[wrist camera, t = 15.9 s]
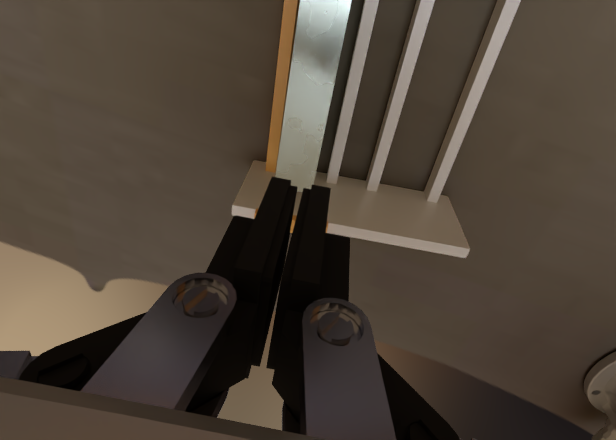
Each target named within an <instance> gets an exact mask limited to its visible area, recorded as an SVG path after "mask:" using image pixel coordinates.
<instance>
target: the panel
mask: <svg viewBox="0 0 616 440" xmlns="http://www.w3.org/2000/svg"><path fill="white" fill-rule="evenodd" d="M351 1H352V0H300V4H299V11H298V18H297V26H296V33H295V40H294V47H293V54H292V61H291V68H290V75H289V82H288V89H287V96H286V104H285V111H284V118H283V125H282V132H281V139H280V146H279V153H278V160H277V167H276V175H275V177H277V178H283V179H288V180H291V185H292V186H297V187H298V188H297V191H299V192H303V188H307V189H311V187H312V184H313V185H314V180H315V175H316V170H317V165H318V161H319V156H320V151H321V146H322V141H323V136H324V132H325V127H326V122H327V117H328V112H329V107H330V103H331V98H332V93H333V88H334V83H335V78H336V74H337V69H338V64H339V59H340V54H341V49H342V45H343V40H344V35H345V30H346V25H347V21H348V16H349V11H350V6H351Z"/></svg>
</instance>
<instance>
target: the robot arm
mask: <svg viewBox="0 0 616 440" xmlns="http://www.w3.org/2000/svg"><path fill="white" fill-rule="evenodd" d="M297 188H298V187H297V186H292V185H291V180H288V179H283V178H277V177H271V180H270V182H269V185H268V187H267V189H266V192H265V194H264V197H263V199H262V202H261V204H260V206H259V209H258V211H257V214H256V216H255V218H254V219H252V218H247V217H242V216H237V215H236V216H234V217H233V219H232V221H231V223H230V225H229V227H228V229H227V231H226V233H225V235H224V237H223V239H222V241H221V243H220V245H219V247H218V249H217V251H216V253H215V255H214V257H213V259H212V261H211V263H210V265H209V267H208V269H207V271H206V273H194V274H190V275H186V276H184V277H181V278H179V279H177V280H176V281H175V282H174V283H172V284H171V285H170V286H169V287H168V288H167V289H166V291H165V292H164V293H163V294H162V295H161V297H160V298H159V299H158V300H157V301H156V302H155V304H154V305H153V306H152V307H151V308H150V309H149V311H148V312H146V313H143V314H140V315H138V316H135V317H133V318H130V319H127V320H125V321H122V322H119V323H117V324H114V325H111V326H109V327H106V328H104V329H101V330H98V331H96V332H93V333H90V334H88V335H85V336H83V337H80V338H77V339H75V340H72V341H69V342H67V343H64V344H61V345H59V346H56V347H54V348H52V349H50V350H48V351H46V352H44V353H42V354H41V355H40V356H31V353H30V351H0V440H462V439H460V438H459V437H458V435H457V434H456V432H455V431H454V430H453V429H452V428H451V426H450V425H449V424H448V423H447V422H446V421H445V420H444V419H443V418H442V417H441V416H440V415H439V414H438V413H437V412H436V411H435V410H434V409H433V408H432V407H431V406H430V405H429V404H428V403H427V402H426V401H425V400H424V399H423V398H422V397H421V396H420V395H419V394H418V393H417V392H416V391H415V390H414V389H413V388H412V387H411V386H410V385H409V384H408V383H407V382H406V381H405V380H404V379H403V378H402V377H401V376H400V375H399V374H398V373H397V372H396V371H395V370H394V369H393V368H392V367H391V366H390V365H389V364H388V363H387V362H386V361H385V360H384V359H383V358H382V357H381V356H380V355H379V354H378V353H377V351H376V346H375V342H374V337H373V333H372V328H371V325H370V322H369V320H368V318H367V316H366V315H365V314H364V313H363V311H362V310H361V309H359V308H358V307H357V306H355V305H354V304H352V303H350V302H348V296H349V257H350V238H349V237H344V236H339V235H334V234H328V233H326V225H327V216H328V208H329V200H330V191H331V188H328V187H323V186H318V185H313V184H312V187H311V189H307V188H303V192H302V196H301V200H300V204H299V208H298V212H297V216H296V221H295V225H294V229H293V233H292V237H291V241H290V245H289V249H288V253H287V247H288V241H289V235H290V229H291V224H292V218H293V212H294V206H295V200H296V194H297ZM286 253H287V257H286ZM285 259H286V261H285ZM284 264H285V265H284ZM283 269H284V270H283ZM282 273H283V274H282ZM281 277H282V279H281ZM280 282H281V284H280ZM279 286H280V290H279ZM278 290H279V296H278V302H277V308H276V314H275V320H274V326H273V332H272V337H271V343H270V350H269V355H268V362H267V368H270V369H275V371H274V376H273V381H272V385H273V386H274V388H275V389H276V390H277V392H278V393H279V394H280V396H281V397H282V399H283V400H284V402H283V408H282V431H281V430H276V429H271V428H265V427H261V426H256V425H251V424H245V423H240V422H235V421H230V420H225V419H220V418H217V416H218V414H219V412H220V410H221V408H222V406H223V404H224V402H225V400H226V398H227V394H228V391H229V387H231V386H233V385H235V384H236V383H238V382H240V381H242V380H243V379H245V378H248V376H249V373H250V369H251V365H254V366H260V363H261V359H262V355H263V351H264V347H265V343H266V339H267V334H268V331H269V326H270V322H271V318H272V314H273V310H274V306H275V302H276V298H277V294H278ZM584 391H585V394H586V396H587V397H588V399H589V401H590V403H591V404H592V405H593V406H594V407H595V408H596V409H598V410H600V411H602V412H604V413H606V415H607V416H608V419H607V420H606V423H605V424H606V427H604V428H602V429H601V430H600V431H599V432H597V433H596V434H595V435H594V436H593V437H592V440H616V352H613V353H611V354H609V355H608V356H606V357H605V358H603V359H602V360H600V361H599V362H598V363H597V364H596V365H594V366H593V367H592V369H591V370H590V371H589V373H588V374H587V376H586V378H585V380H584ZM470 440H476V439H474V438H471V439H470Z"/></svg>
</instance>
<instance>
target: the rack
mask: <svg viewBox="0 0 616 440" xmlns="http://www.w3.org/2000/svg"><path fill="white" fill-rule="evenodd" d="M520 1H521V0H497V2H496V5H495V8H494V10H493V13H492V15H491V18H490V21H489V23H488V26H487V28H486V31H485V34H484V36H483V39H482V41H481V44H480V47H479V49H478V52H477V55H476V57H475V60H474V62H473V65H472V68H471V70H470V73H469V75H468V78H467V81H466V83H465V86H464V88H463V91H462V94H461V96H460V99H459V101H458V104H457V107H456V109H455V112H454V114H453V117H452V120H451V122H450V125H449V127H448V130H447V133H446V135H445V138H444V140H443V143H442V146H441V148H440V151H439V153H438V156H437V159H436V161H435V164H434V166H433V169H432V172H431V174H430V177H429V179H428V182H427V185H426V187H425V190H424V192H423V191H418V190H412V189H407V188H402V187H396V186H391V185H386V184H380V183H379V182H380V179H381V176H382V173H383V169H384V166H385V163H386V159H387V156H388V153H389V150H390V146H391V143H392V140H393V136H394V133H395V130H396V127H397V123H398V120H399V117H400V113H401V110H402V107H403V104H404V100H405V97H406V94H407V90H408V87H409V84H410V81H411V77H412V74H413V71H414V67H415V64H416V61H417V58H418V54H419V51H420V48H421V44H422V41H423V38H424V35H425V31H426V28H427V25H428V21H429V18H430V15H431V12H432V8H433V5H434V2H435V0H417V1H416V4H415V8H414V11H413V15H412V18H411V22H410V25H409V29H408V33H407V36H406V40H405V43H404V47H403V50H402V54H401V58H400V61H399V65H398V68H397V72H396V75H395V79H394V82H393V86H392V90H391V93H390V97H389V100H388V104H387V107H386V111H385V114H384V118H383V122H382V125H381V129H380V132H379V136H378V139H377V143H376V147H375V150H374V154H373V157H372V161H371V164H370V168H369V171H368V175H367V179H366V181H364V180H359V179H354V178H348V177H343V176H338V175H339V170H340V166H341V162H342V158H343V153H344V149H345V145H346V140H347V136H348V132H349V128H350V123H351V119H352V115H353V110H354V106H355V102H356V97H357V93H358V89H359V85H360V80H361V76H362V72H363V67H364V63H365V59H366V55H367V50H368V46H369V42H370V37H371V33H372V29H373V25H374V20H375V16H376V12H377V7H378V3H379V0H364V3H363V8H362V12H361V17H360V22H359V27H358V31H357V36H356V41H355V45H354V50H353V55H352V59H351V64H350V69H349V73H348V78H347V83H346V87H345V92H344V97H343V101H342V106H341V111H340V115H339V120H338V125H337V129H336V134H335V139H334V143H333V148H332V153H331V158H330V162H329V167H328V172H327V173H322V172H316V175H315V180H314V185H318V186H323V187H328V188H331V191H330V200H329V208H328V216H327V225H326V233H332V234H337V235H342V236H348V237H353V238H359V239H364V240H369V241H375V242H380V243H386V244H391V245H397V246H402V247H407V248H413V249H418V250H424V251H429V252H435V253H440V254H445V255H451V256H456V257H462V258H466V256H467V255H468V253H469V251H470V247H469V245H468V242H467V240H466V238H465V235H464V233H463V231H462V228H461V226H460V224H459V221H458V219H457V217H456V214H455V212H454V209H453V207H452V205H451V202H450V200H449V198H448V196H444V195H440V194H441V192H442V190H443V187H444V185H445V182H446V180H447V177H448V175H449V173H450V170H451V168H452V165H453V163H454V161H455V158H456V156H457V153H458V151H459V148H460V146H461V144H462V141H463V139H464V136H465V134H466V132H467V129H468V127H469V124H470V122H471V120H472V117H473V115H474V112H475V110H476V107H477V105H478V103H479V100H480V98H481V95H482V93H483V91H484V88H485V86H486V83H487V81H488V79H489V76H490V74H491V71H492V69H493V66H494V64H495V62H496V59H497V57H498V54H499V52H500V50H501V47H502V45H503V42H504V40H505V38H506V35H507V33H508V30H509V28H510V25H511V23H512V21H513V18H514V16H515V13H516V11H517V9H518V6H519V4H520ZM299 4H300V0H284V8H283V17H282V26H281V35H280V44H279V53H278V62H277V71H276V79H275V88H274V97H273V106H272V115H271V124H270V133H269V142H268V151H267V160H266V162H263V161H258V160H254V161H253V163H252V165H251V167H250V169H249V171H248V173H247V175H246V177H245V180H244V182H243V184H242V186H241V188H240V190H239V192H238V194H237V196H236V198H235V200H234V203H233V205H232V215H234V216H236V215H237V216H242V217H247V218H252V219H254V218H255V216H256V214H257V211H258V209H259V206H260V204H261V202H262V199H263V197H264V194H265V192H266V189H267V187H268V185H269V182H270V180H271V177H275V175H276V167H277V160H278V153H279V146H280V139H281V132H282V125H283V118H284V111H285V104H286V96H287V89H288V82H289V75H290V68H291V61H292V54H293V47H294V40H295V33H296V26H297V18H298V11H299ZM301 196H302V192H299V191H297V194H296V200H295V206H294V212H293V218H292V224H291V229H290V233H293V229H294V225H295V221H296V216H297V212H298V208H299V204H300V200H301Z"/></svg>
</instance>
